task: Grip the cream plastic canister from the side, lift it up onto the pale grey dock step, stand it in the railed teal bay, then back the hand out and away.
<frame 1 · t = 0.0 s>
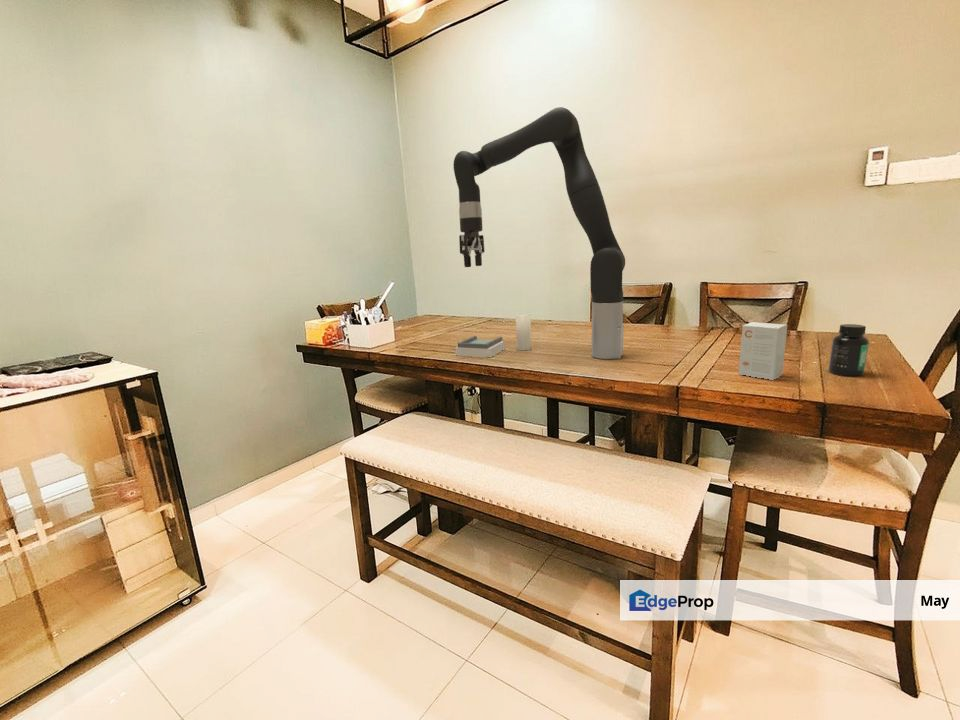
hand: (473, 266, 151), 29 cm above the table, tool pointing down, fingers open, 8 cm apart
dock: (480, 352, 153), on the table
canister: (523, 349, 155), on the table
supplement bottle: (845, 373, 110), on the table
small box: (759, 376, 112), on the table
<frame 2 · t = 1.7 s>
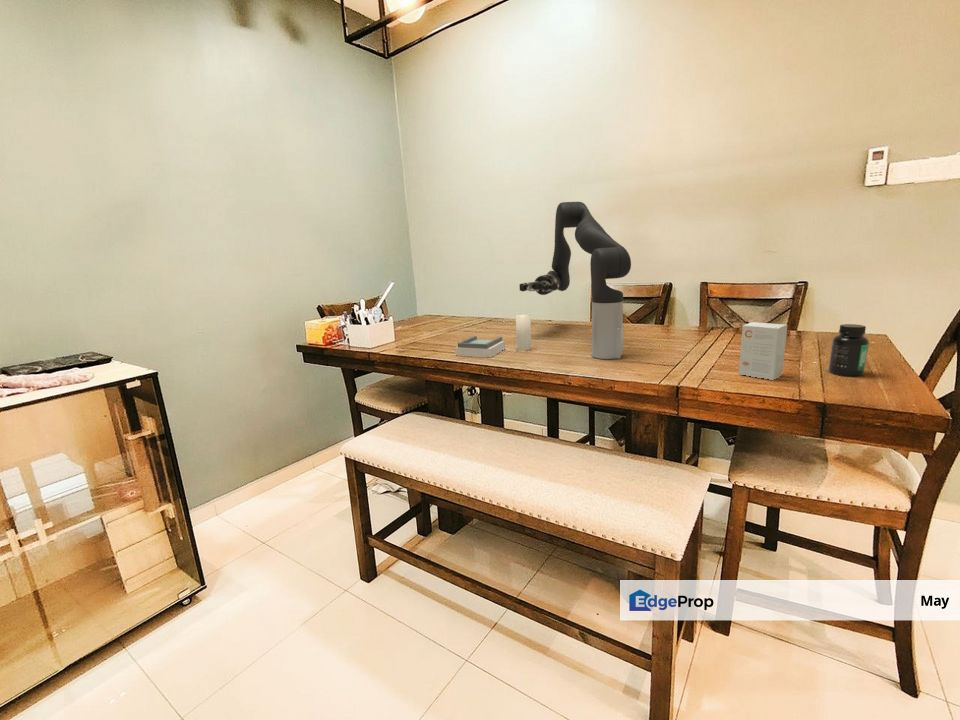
hand: (533, 288, 160), 20 cm above the table, tool horizontal, fingers open, 8 cm apart
nothing on the table moved.
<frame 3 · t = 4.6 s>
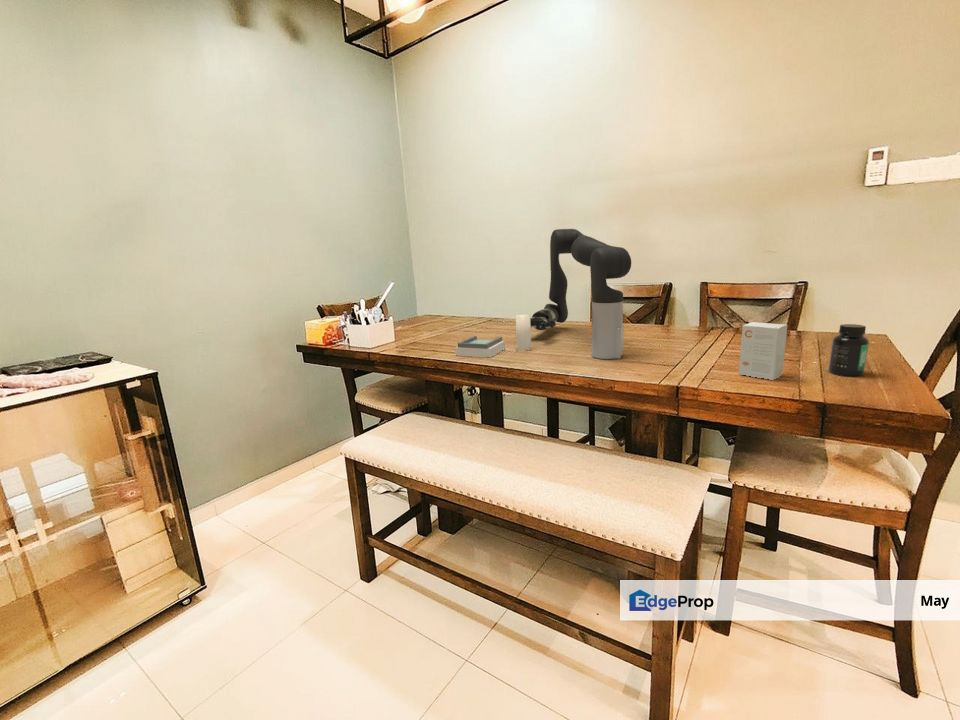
hand: (530, 326, 159), 7 cm above the table, tool horizontal, fingers open, 8 cm apart
nothing on the table moved.
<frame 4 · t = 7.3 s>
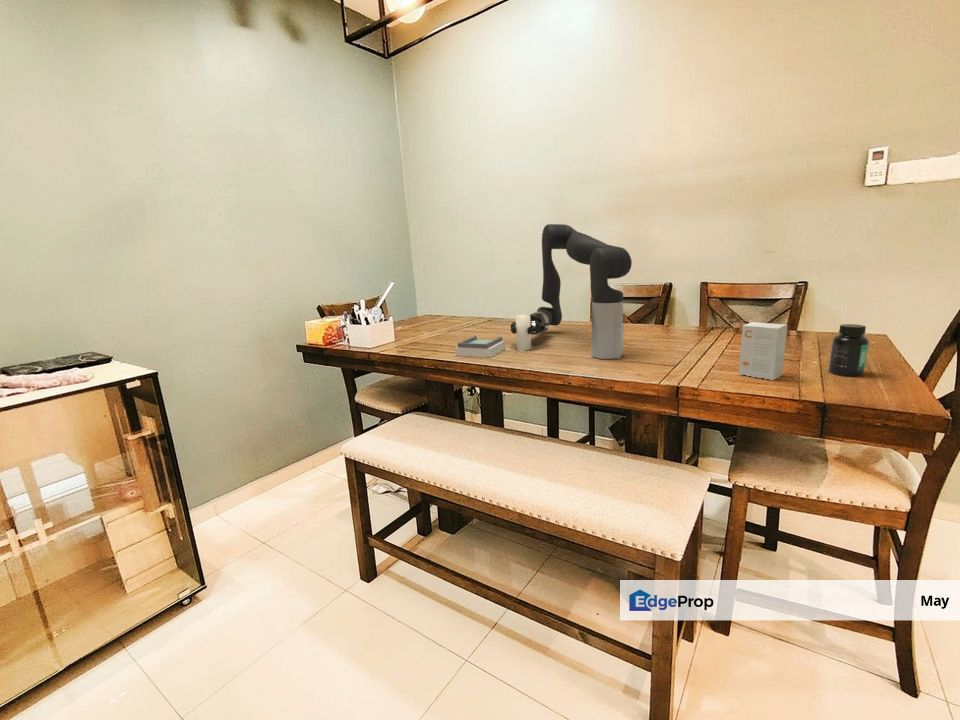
hand: (520, 330, 151), 7 cm above the table, tool horizontal, fingers closed on canister, 5 cm apart
canister: (524, 349, 155), on the table, touching gripper
everything else where it was.
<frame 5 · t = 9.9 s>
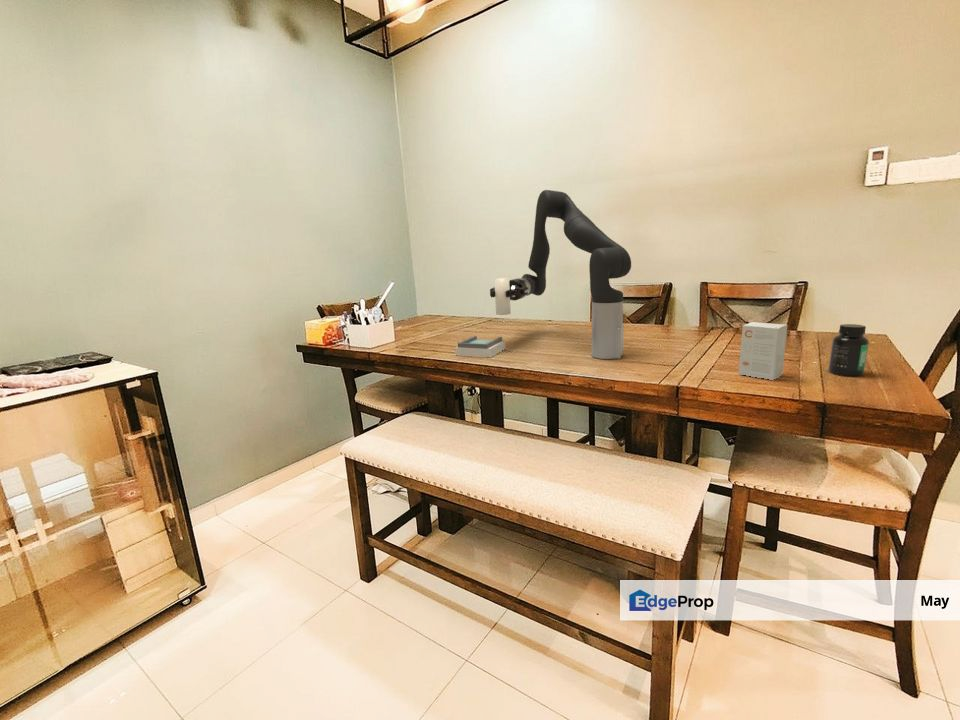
hand: (499, 294, 148), 20 cm above the table, tool horizontal, fingers closed on canister, 5 cm apart
canister: (503, 313, 152), point 13 cm above the table, touching gripper
everything else where it was.
when the fingers open (12 cm above the table, at t = 12.4 s): canister drops 2 cm, resting on dock.
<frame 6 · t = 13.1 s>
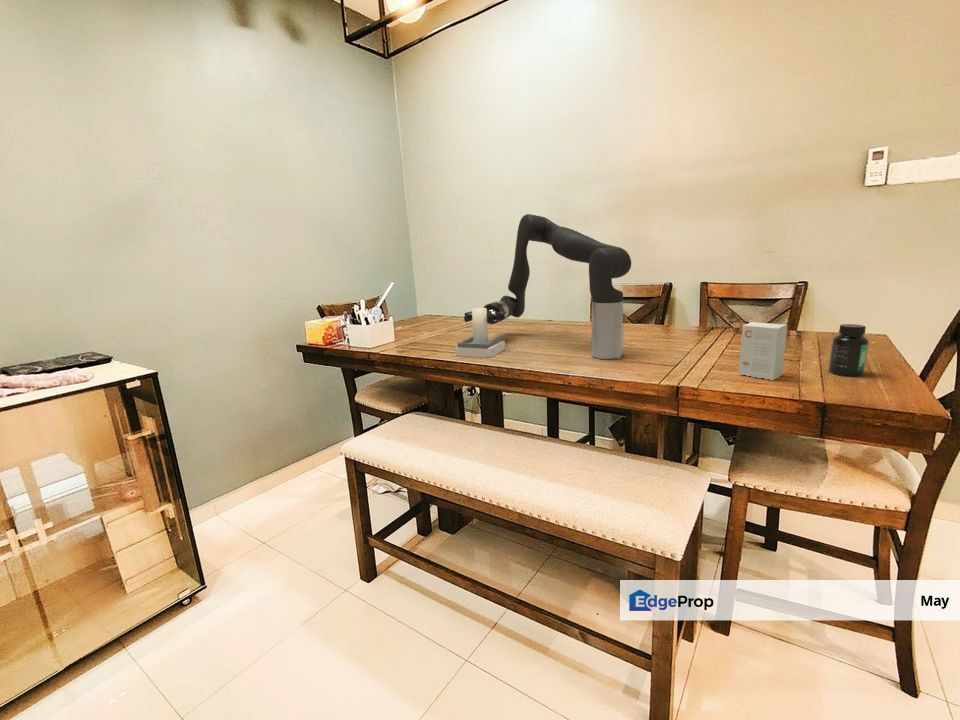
hand: (476, 319, 149), 12 cm above the table, tool horizontal, fingers open, 8 cm apart
canister: (480, 343, 153), point 3 cm above the table, touching dock
everything else where it was.
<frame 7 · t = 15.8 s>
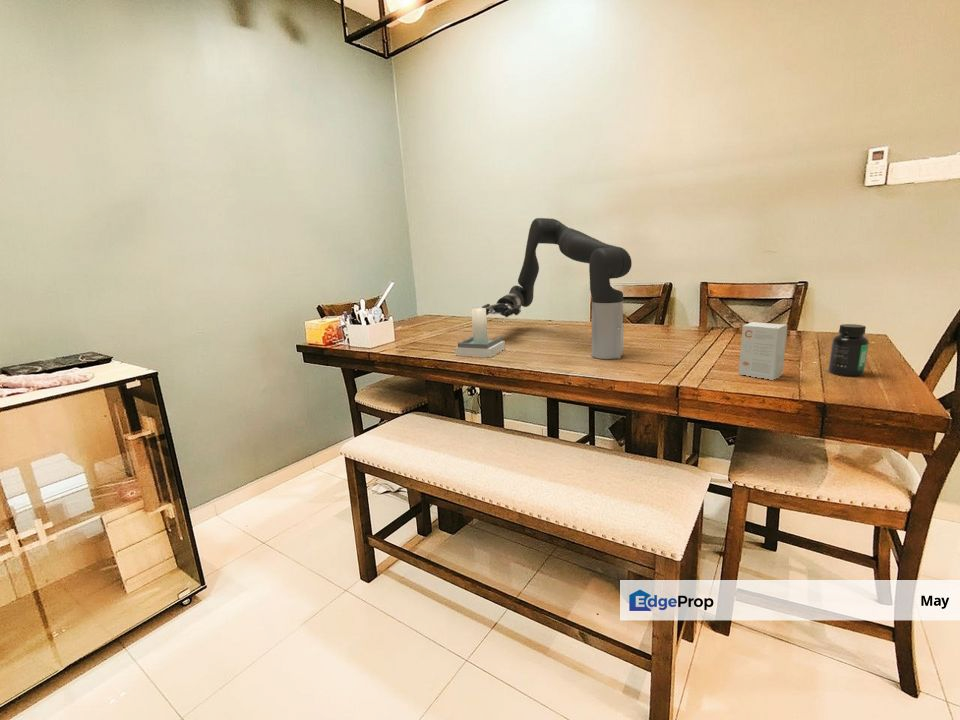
hand: (494, 313, 160), 12 cm above the table, tool horizontal, fingers open, 8 cm apart
nothing on the table moved.
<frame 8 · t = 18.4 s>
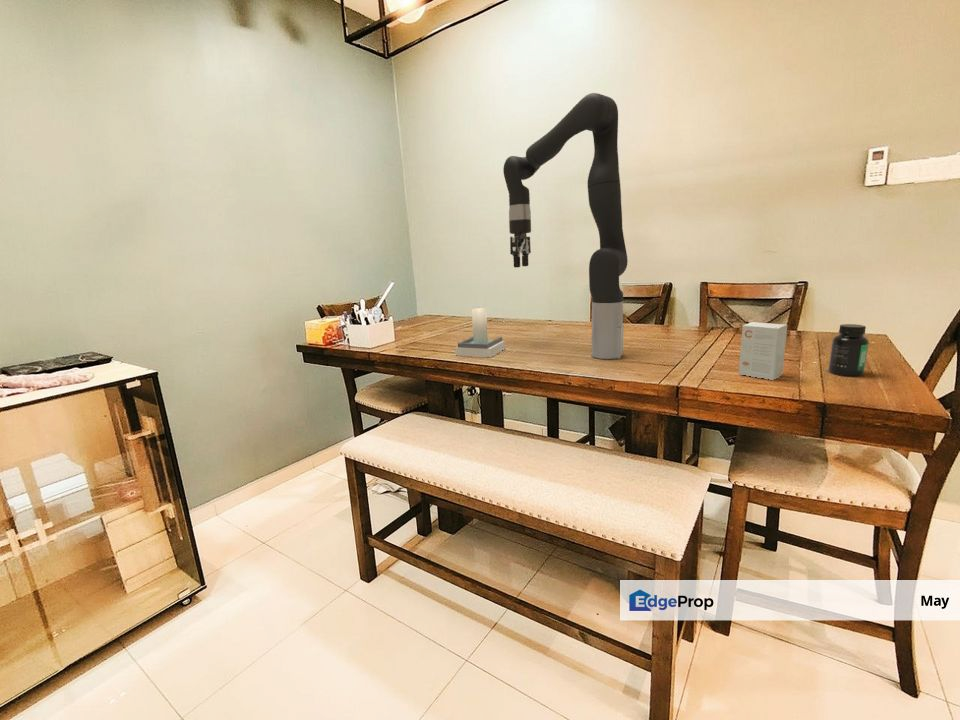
hand: (521, 266, 156), 28 cm above the table, tool pointing down, fingers open, 8 cm apart
nothing on the table moved.
at the end: canister 0.1 cm off-centre on the dock, point 3.2 cm above the dock's base; canister tilted 1°; the gripper is holding nothing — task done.
